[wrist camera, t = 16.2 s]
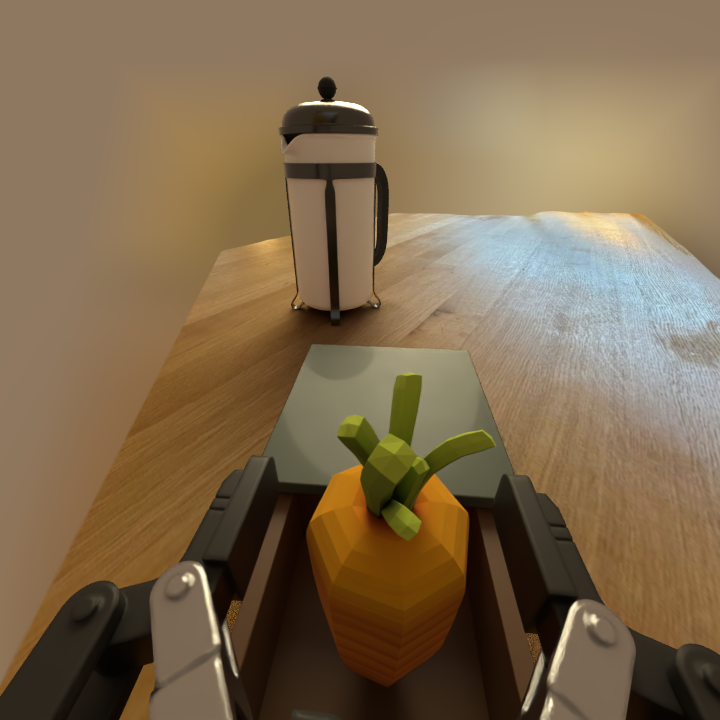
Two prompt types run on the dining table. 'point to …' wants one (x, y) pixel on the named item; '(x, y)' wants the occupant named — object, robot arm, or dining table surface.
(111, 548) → the dining table surface
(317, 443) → the cabinet
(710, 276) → the dining table surface
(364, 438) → the carrot
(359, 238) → the coffee press
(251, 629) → the drawer
